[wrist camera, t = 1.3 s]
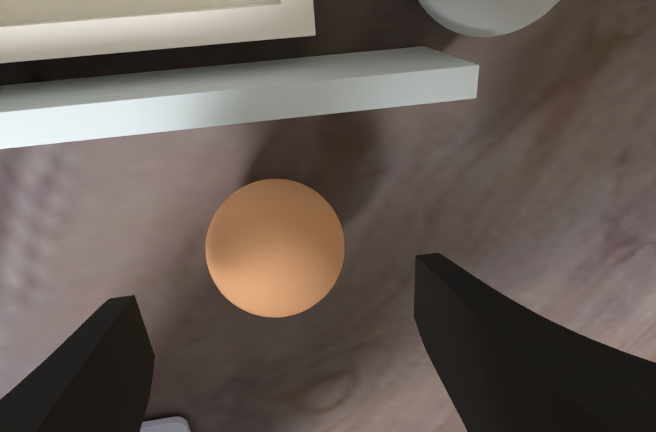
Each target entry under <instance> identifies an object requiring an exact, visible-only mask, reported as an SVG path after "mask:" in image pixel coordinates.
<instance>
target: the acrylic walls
mask: <svg viewBox="0 0 656 432" xmlns="http://www.w3.org/2000/svg"><path fill="white" fill-rule="evenodd" d="M478 74H479V65H477V64H474V63H471V62H468V61H466V60H463V59H460V58H457V57H454V56H451V55H448V54H445V53H442V52H439V51H436V50H434V49H431V48H428V47H425V46H420V47H409V48H398V49H388V50H377V51H366V52H355V53H344V54H334V55H323V56H312V57H301V58H291V59H280V60H269V61H258V62H248V63H237V64H226V65H215V66H205V67H194V68H183V69H172V70H161V71H151V72H140V73H129V74H118V75H108V76H97V77H86V78H75V79H65V80H54V81H43V82H32V83H21V84H11V85H0V149H4V148H14V147H23V146H33V145H42V144H51V143H61V142H70V141H80V140H89V139H98V138H108V137H117V136H127V135H136V134H145V133H155V132H164V131H174V130H183V129H192V128H202V127H211V126H220V125H230V124H239V123H249V122H258V121H267V120H277V119H286V118H296V117H305V116H314V115H324V114H333V113H343V112H352V111H361V110H371V109H380V108H390V107H399V106H408V105H418V104H427V103H437V102H446V101H455V100H465V99H474V98H476V97H477V85H478Z"/></svg>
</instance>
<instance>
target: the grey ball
mask: <svg viewBox="0 0 656 432" xmlns="http://www.w3.org/2000/svg"><path fill="white" fill-rule="evenodd" d="M418 1H419V2H420V4H421V5H422V7H423V8H424V9H425V11H426V12H427V13H428V14H429V15H430V16H431V17H432V18H433V19H434V20H435V21H436V22H438V23H439V24H441V25H442V26H444V27H445V28H447V29H449V30H452V31H454V32H456V33H459V34H462V35H466V36H473V37H494V36H500V35H504V34H508V33H511V32H515V31H517V30H519V29H521V28H524V27H526V26H528V25H529V24H531V23H533V22H534V21H536V20H538V19H539V18H541V17H542V16H543V15H545V14H546V13H547V12H548V11H549V10H551V9H552V8H553V7H554V6H555V5H556V4H557V3H558V2H559V1H560V0H418Z"/></svg>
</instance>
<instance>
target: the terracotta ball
mask: <svg viewBox="0 0 656 432" xmlns="http://www.w3.org/2000/svg"><path fill="white" fill-rule="evenodd" d="M344 255H345V241H344V234H343V230H342V227H341V223H340V221H339V219H338V217H337V215H336V213H335V211H334V210H333V208H332V207H331V205H330V204H329V203H328V202H327V201H326V200H325V199H324V198H323V197H322V196H321V195H320V194H319V193H317V192H316V191H314V190H313V189H311V188H310V187H308V186H305V185H303V184H301V183H298V182H295V181H292V180H286V179H265V180H260V181H256V182H253V183H250V184H248V185H246V186H244V187H242V188H240V189H239V190H237V191H235V192H234V193H233V194H231V195H230V196H229V197H228V198H227V199H226V200H225V201H224V202H223V203H222V204H221V206H220V207H219V209H218V210H217V211H216V213H215V214H214V216H213V218H212V220H211V223H210V226H209V229H208V232H207V237H206V260H207V265H208V268H209V272H210V274H211V276H212V279H213V281H214V282H215V284H216V286H217V287H218V289H219V290H220V292H221V293H222V294H223V295H224V296H225V297H226V298H227V299H228V300H229V301H230V302H232V303H233V304H234V305H236V306H237V307H239V308H241V309H243V310H245V311H247V312H249V313H252V314H255V315H258V316H263V317H286V316H291V315H295V314H298V313H301V312H303V311H305V310H307V309H309V308H311V307H312V306H314V305H315V304H316V303H318V302H319V301H320V300H321V299H322V298H324V297H325V296H326V295H327V293H328V292H329V291H330V290H331V288H332V287H333V285H334V284H335V282H336V281H337V278H338V276H339V274H340V271H341V268H342V265H343V261H344Z"/></svg>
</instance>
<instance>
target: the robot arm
mask: <svg viewBox="0 0 656 432" xmlns="http://www.w3.org/2000/svg"><path fill="white" fill-rule="evenodd" d="M414 318H415V321H416V324H417V327H418V330H419V333H420V335H421V338H422V341H423V344H424V346H425V349H426V351H427V353H428V355H429V357H430V359H431V361H432V363H433V365H434V367H435V369H436V371H437V373H438V375H439V377H440V379H441V381H442V383H443V384H444V386H445V388H446V390H447V392H448V394H449V396H450V398H451V400H452V402H453V404H454V406H455V408H456V410H457V411H458V413H459V415H460V417H461V419H462V421H463V423H464V425H465V427H466V429H467V432H656V363H655V362H651V361H648V360H645V359H643V358H640V357H637V356H634V355H631V354H628V353H625V352H623V351H620V350H618V349H615V348H612V347H610V346H607V345H605V344H602V343H600V342H597V341H594V340H592V339H590V338H587V337H585V336H583V335H580V334H578V333H576V332H574V331H571V330H569V329H567V328H565V327H563V326H561V325H559V324H556V323H554V322H552V321H550V320H548V319H546V318H544V317H542V316H540V315H538V314H536V313H535V312H533V311H531V310H529V309H527V308H526V307H524V306H522V305H520V304H518V303H517V302H515V301H513V300H511V299H510V298H508V297H506V296H505V295H503V294H501V293H500V292H498V291H496V290H495V289H493V288H492V287H490V286H488V285H487V284H485V283H484V282H482V281H481V280H479V279H478V278H476V277H474V276H473V275H471V274H470V273H468V272H467V271H465V270H464V269H462V268H461V267H459V266H458V265H456V264H455V263H453V262H452V261H450V260H449V259H447V258H446V257H444V256H443V255H441V254H439V253H432V254H425V255H418V256H416V262H415V297H414ZM154 359H155V355H154V352H153V349H152V346H151V343H150V340H149V337H148V334H147V331H146V328H145V325H144V322H143V319H142V316H141V313H140V310H139V307H138V304H137V301H136V298H135V295H132V296H125V297H118V298H111V299H108V300H107V301H106V302H105V303H104V304H103V305H102V306H101V307H99V308H98V309H97V310H96V311H95V312H94V313H93V314H92V315H91V316H90V317H89V318H88V319H87V320H86V321H85V322H84V323H83V324H82V325H81V326H80V327H79V328H78V329H77V330H76V331H75V332H74V333H73V334H72V335H71V336H70V337H69V338H68V339H67V340H66V341H65V342H64V343H63V344H62V345H61V346H60V347H58V348H57V349H56V350H55V351H54V352H53V353H52V354H51V355H50V356H49V357H48V358H47V359H46V360H45V361H44V362H43V363H41V364H40V365H39V366H38V367H37V368H36V369H35V370H34V371H32V372H31V373H30V374H29V375H28V376H27V377H26V378H25V379H24V380H22V381H21V382H20V383H19V384H18V385H17V386H16V387H15V388H13V389H12V390H11V391H10V392H9V393H8V394H6V395H5V396H4V397H3V398H2V399H1V400H0V432H190V428H189V425H188V422H187V421H186V420H185V419H184V418H182V417H169V418H163V419H157V420H151V421H146V422H143V418H144V414H145V411H146V407H147V403H148V399H149V395H150V389H151V383H152V376H153V368H154Z"/></svg>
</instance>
